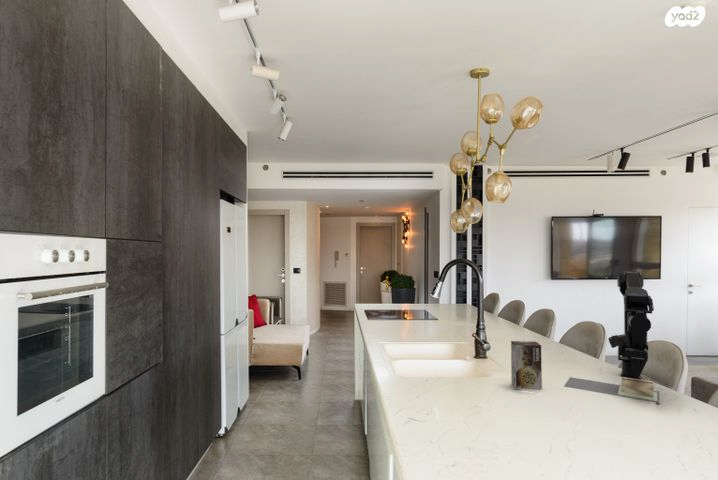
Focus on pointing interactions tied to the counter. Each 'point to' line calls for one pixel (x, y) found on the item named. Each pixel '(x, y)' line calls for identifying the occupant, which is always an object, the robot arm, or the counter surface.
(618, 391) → the mat
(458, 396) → the counter surface
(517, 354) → the coffee box
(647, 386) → the taped cardboard box
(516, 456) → the counter surface
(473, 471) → the counter surface
